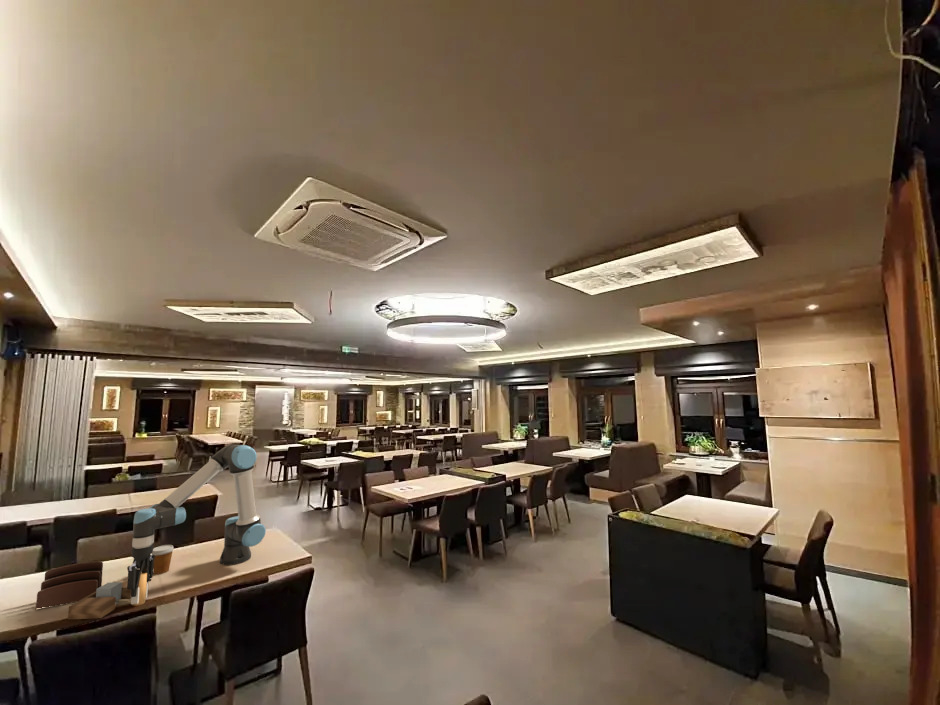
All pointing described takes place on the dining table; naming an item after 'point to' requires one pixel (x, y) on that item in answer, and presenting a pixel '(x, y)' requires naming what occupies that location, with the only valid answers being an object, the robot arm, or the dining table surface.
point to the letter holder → (69, 583)
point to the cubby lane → (96, 605)
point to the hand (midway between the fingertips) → (139, 600)
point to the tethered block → (115, 589)
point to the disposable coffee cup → (162, 558)
